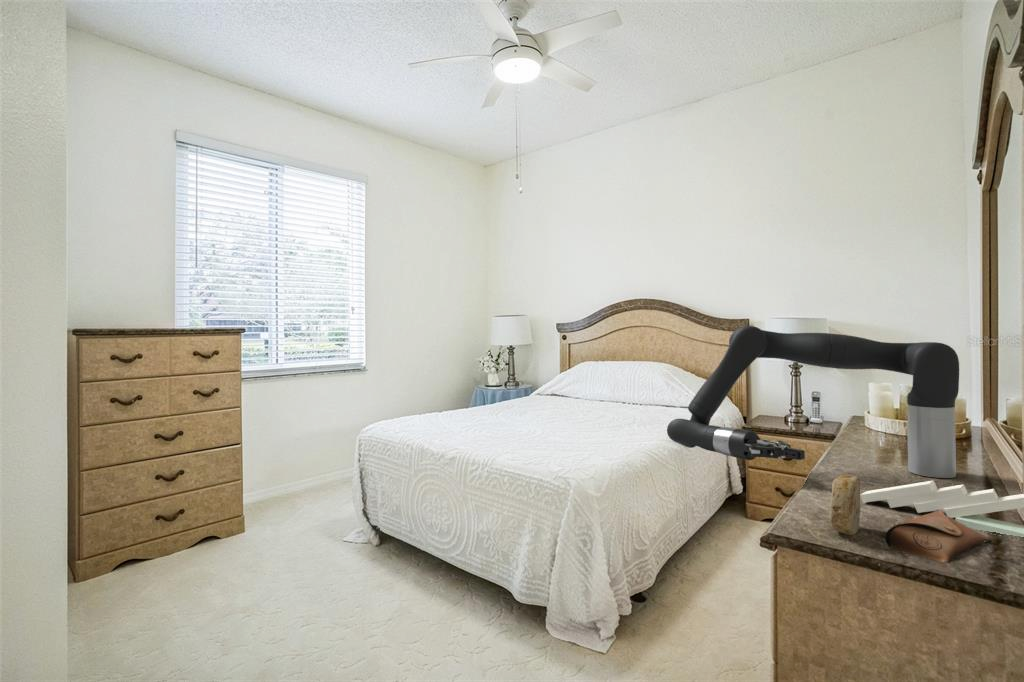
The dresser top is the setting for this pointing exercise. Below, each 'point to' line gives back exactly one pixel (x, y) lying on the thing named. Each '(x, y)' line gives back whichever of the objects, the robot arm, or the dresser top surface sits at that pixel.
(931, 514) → the sunglasses case
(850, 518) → the stone disc
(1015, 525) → the domino
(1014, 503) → the domino
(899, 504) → the domino
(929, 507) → the domino
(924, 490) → the domino
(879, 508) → the dresser top surface
